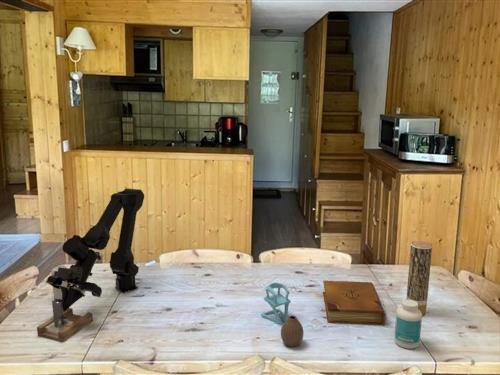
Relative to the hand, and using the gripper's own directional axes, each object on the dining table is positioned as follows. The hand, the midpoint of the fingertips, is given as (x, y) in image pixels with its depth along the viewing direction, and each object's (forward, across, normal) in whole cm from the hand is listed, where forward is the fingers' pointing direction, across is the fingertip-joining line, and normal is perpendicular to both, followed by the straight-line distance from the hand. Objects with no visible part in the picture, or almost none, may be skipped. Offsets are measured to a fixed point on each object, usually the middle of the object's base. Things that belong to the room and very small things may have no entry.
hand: (62, 311), depth 147 cm
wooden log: (-33, +106, +43) cm, 119 cm away
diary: (-30, +84, +40) cm, 98 cm away
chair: (-18, +62, +28) cm, 70 cm away
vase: (-8, +71, +18) cm, 74 cm away
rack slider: (+5, 0, +3) cm, 6 cm away
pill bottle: (-18, +104, +27) cm, 109 cm away
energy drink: (-7, -17, +17) cm, 25 cm away
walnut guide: (+4, 0, +5) cm, 7 cm away
